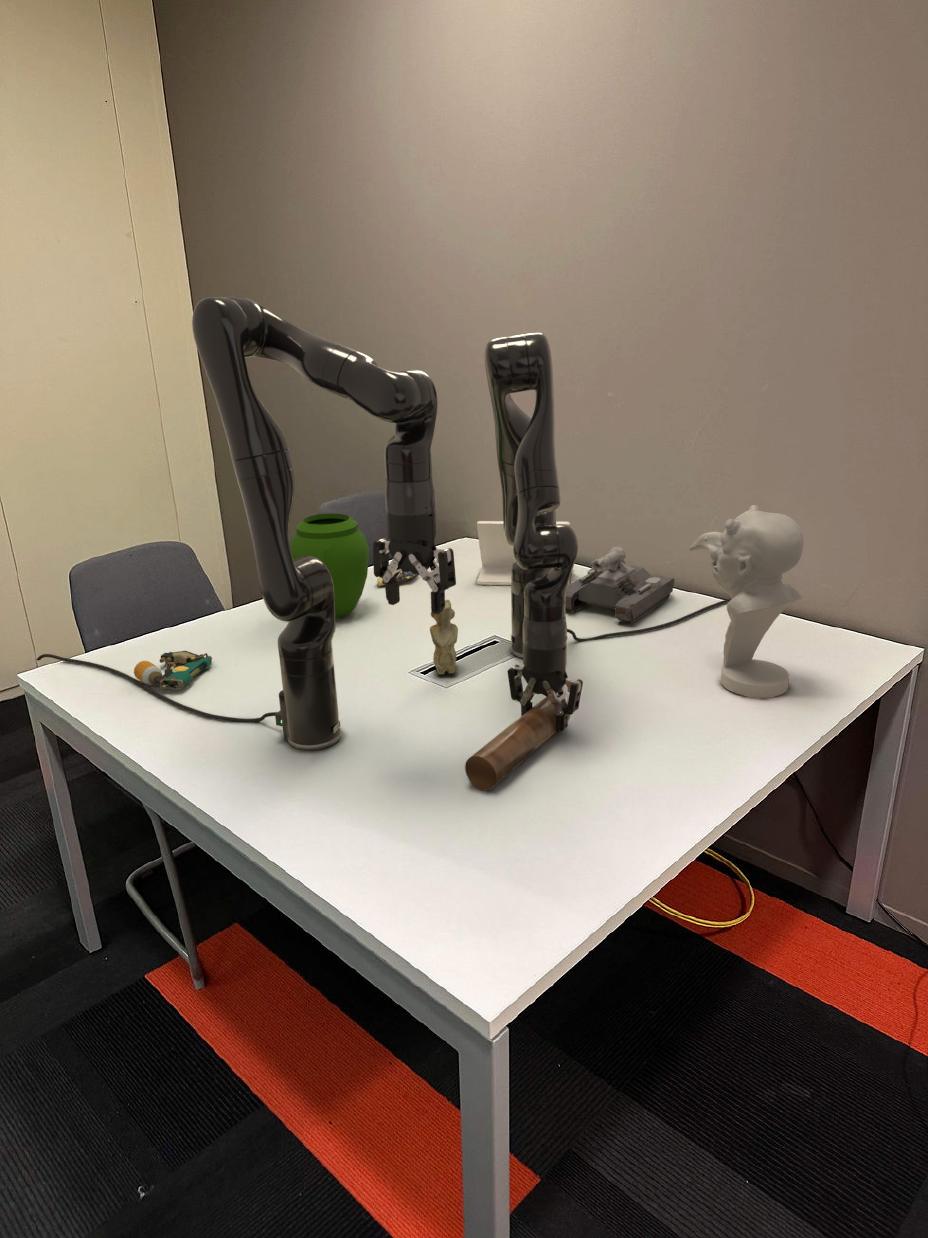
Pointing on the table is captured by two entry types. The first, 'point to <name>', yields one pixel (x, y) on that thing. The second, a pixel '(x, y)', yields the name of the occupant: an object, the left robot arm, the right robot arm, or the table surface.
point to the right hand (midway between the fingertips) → (544, 726)
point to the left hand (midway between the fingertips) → (415, 608)
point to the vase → (336, 555)
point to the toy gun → (401, 577)
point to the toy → (619, 588)
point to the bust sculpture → (753, 593)
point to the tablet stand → (496, 553)
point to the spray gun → (172, 669)
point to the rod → (512, 745)
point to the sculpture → (444, 640)
